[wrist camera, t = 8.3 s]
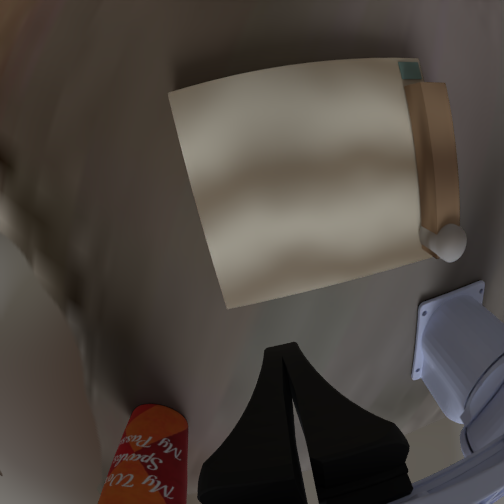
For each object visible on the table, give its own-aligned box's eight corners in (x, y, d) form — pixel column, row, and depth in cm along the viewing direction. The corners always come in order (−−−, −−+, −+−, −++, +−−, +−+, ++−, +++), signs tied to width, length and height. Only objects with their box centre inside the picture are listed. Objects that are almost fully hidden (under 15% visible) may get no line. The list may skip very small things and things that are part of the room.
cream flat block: (428, 245, 21) (442, 254, 19) (228, 294, 22) (227, 309, 20) (404, 63, 16) (418, 58, 15) (174, 97, 17) (167, 92, 15)
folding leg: (445, 244, 19) (465, 257, 17) (419, 251, 19) (439, 266, 17) (430, 86, 15) (453, 82, 13) (401, 86, 15) (423, 80, 13)
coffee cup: (185, 393, 25) (164, 544, 11) (208, 441, 28) (202, 564, 14) (107, 395, 26) (62, 521, 11) (139, 442, 28) (115, 552, 14)
